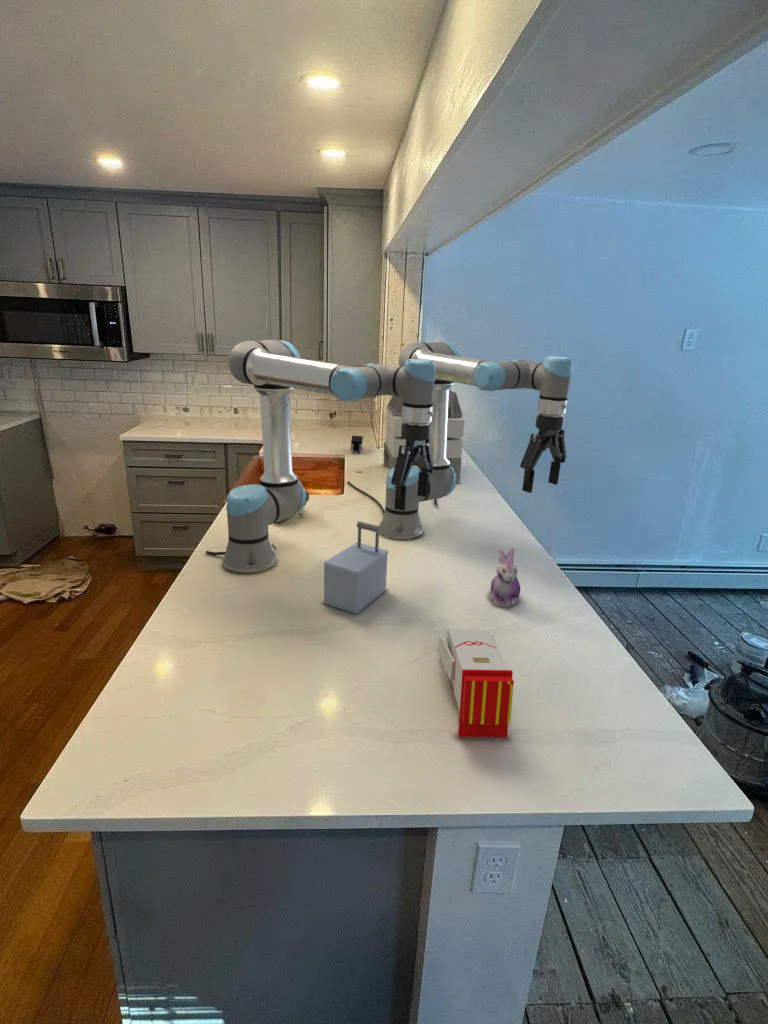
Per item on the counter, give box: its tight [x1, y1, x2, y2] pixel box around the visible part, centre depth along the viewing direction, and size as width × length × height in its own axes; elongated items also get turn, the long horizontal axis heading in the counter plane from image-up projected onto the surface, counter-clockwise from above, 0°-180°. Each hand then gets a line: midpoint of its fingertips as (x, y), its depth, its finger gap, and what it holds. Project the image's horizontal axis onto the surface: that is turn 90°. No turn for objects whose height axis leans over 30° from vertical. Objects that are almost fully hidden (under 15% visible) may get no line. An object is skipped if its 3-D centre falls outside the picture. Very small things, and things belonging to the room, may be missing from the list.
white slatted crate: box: [383, 388, 465, 484], centre depth 268 cm, size 34×33×41 cm
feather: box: [433, 499, 438, 507], centre depth 240 cm, size 2×28×2 cm
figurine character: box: [350, 435, 364, 454], centre depth 309 cm, size 7×8×15 cm
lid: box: [323, 521, 389, 575], centre depth 150 cm, size 16×10×8 cm, turn 151°
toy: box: [437, 628, 515, 738], centre depth 117 cm, size 12×13×30 cm
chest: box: [323, 554, 388, 614], centre depth 154 cm, size 16×10×11 cm, turn 151°
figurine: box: [489, 547, 521, 608], centre depth 154 cm, size 9×10×15 cm
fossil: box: [273, 490, 310, 526], centre depth 210 cm, size 22×10×15 cm
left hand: (411, 502), depth 150 cm, fingers open, 13 cm apart
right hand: (540, 487), depth 165 cm, fingers open, 13 cm apart
